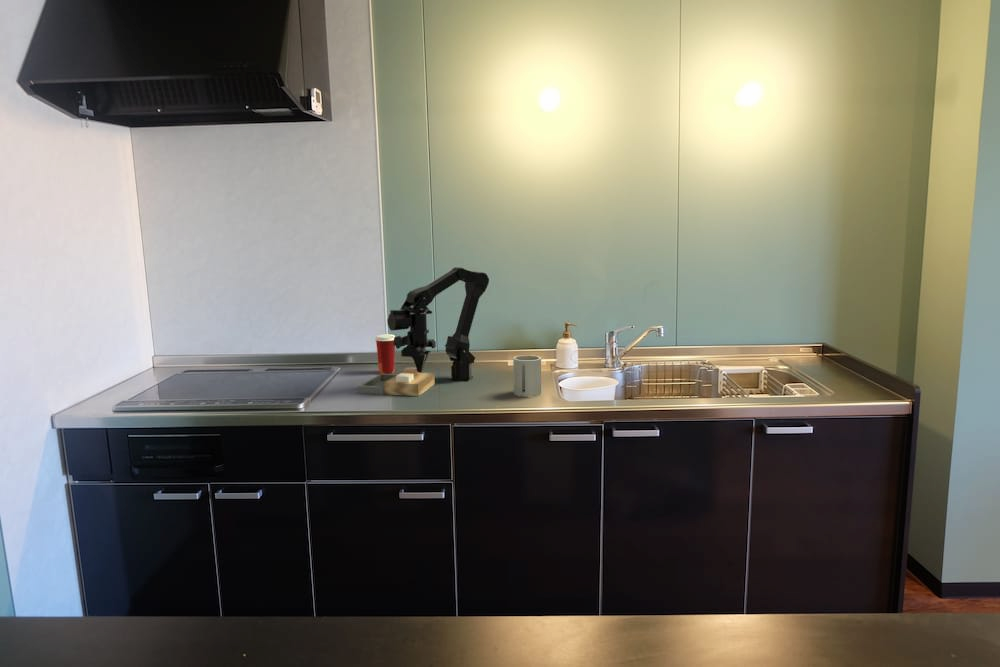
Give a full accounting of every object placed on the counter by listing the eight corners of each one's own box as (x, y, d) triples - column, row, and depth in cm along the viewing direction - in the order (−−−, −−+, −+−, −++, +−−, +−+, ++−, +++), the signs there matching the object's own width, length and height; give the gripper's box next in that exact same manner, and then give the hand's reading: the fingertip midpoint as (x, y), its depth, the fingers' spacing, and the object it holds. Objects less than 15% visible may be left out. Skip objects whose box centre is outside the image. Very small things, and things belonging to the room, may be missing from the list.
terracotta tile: (419, 373, 239) (419, 367, 239) (415, 376, 235) (415, 370, 234) (407, 372, 240) (407, 367, 240) (403, 375, 236) (402, 370, 235)
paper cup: (401, 371, 261) (399, 334, 258) (389, 375, 254) (388, 338, 251) (383, 369, 264) (382, 333, 262) (372, 373, 257) (370, 336, 255)
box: (403, 381, 244) (403, 375, 243) (383, 394, 226) (382, 387, 226) (380, 380, 246) (379, 373, 245) (358, 393, 228) (357, 385, 228)
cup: (537, 389, 232) (537, 354, 230) (543, 396, 223) (543, 360, 221) (511, 390, 231) (510, 355, 228) (516, 397, 222) (516, 361, 220)
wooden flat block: (434, 384, 240) (434, 373, 239) (418, 396, 224) (418, 384, 224) (402, 382, 243) (402, 371, 242) (384, 394, 227) (383, 382, 227)
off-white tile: (413, 379, 230) (413, 373, 230) (408, 382, 226) (408, 376, 226) (401, 378, 231) (400, 373, 231) (396, 381, 227) (395, 376, 227)
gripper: (405, 322, 245) (407, 365, 247) (385, 331, 227) (387, 377, 229) (435, 323, 242) (436, 367, 245) (417, 332, 224) (419, 378, 227)
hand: (419, 372), depth 236 cm, fingers closed, pressing on terracotta tile
